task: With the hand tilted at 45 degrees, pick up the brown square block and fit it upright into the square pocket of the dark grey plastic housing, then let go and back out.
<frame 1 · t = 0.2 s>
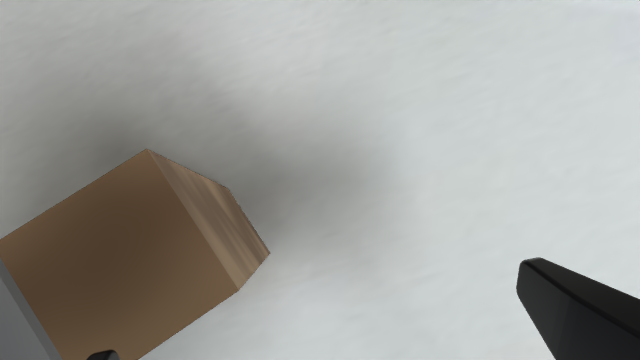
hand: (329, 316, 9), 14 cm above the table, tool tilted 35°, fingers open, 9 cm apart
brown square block: (215, 242, 23), on the table
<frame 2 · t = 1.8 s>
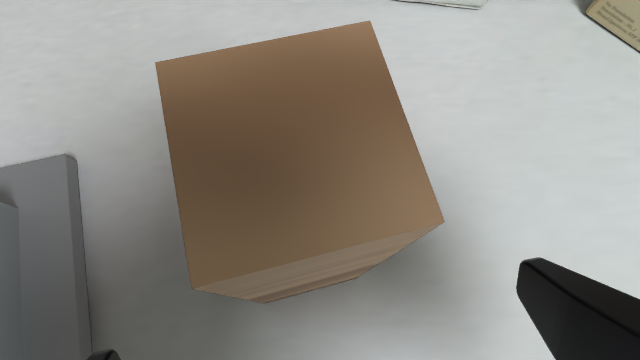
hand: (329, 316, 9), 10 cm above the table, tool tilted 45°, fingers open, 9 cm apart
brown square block: (299, 244, 19), on the table
skincare box: (639, 25, 25), on the table
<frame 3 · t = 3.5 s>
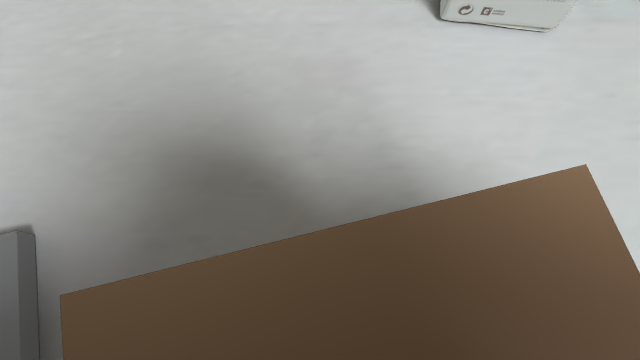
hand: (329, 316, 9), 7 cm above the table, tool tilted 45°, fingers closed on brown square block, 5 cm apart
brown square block: (327, 352, 14), on the table, touching gripper
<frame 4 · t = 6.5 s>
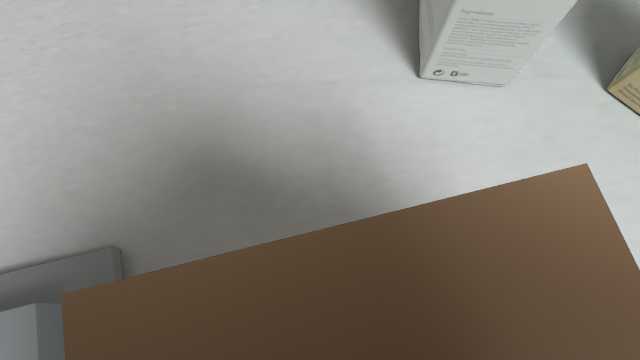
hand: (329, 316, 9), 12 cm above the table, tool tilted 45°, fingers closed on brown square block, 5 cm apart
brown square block: (327, 351, 14), point 6 cm above the table, touching gripper
skincare box 2: (457, 32, 26), on the table
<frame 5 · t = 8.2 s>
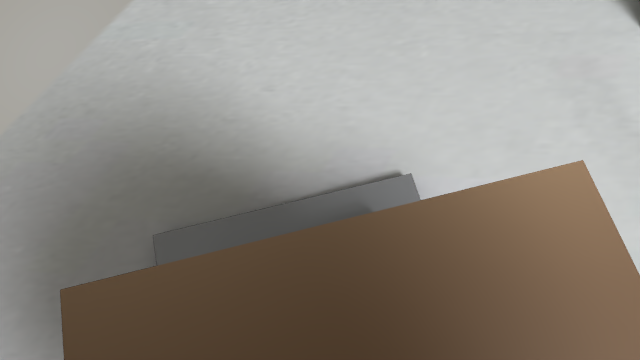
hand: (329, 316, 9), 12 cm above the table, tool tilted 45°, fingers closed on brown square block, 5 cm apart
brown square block: (327, 351, 14), point 6 cm above the table, touching gripper
housing: (319, 339, 20), on the table
when the fingers open (8 cm above the table, at t = 9.5 s): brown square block stays where it is, resting on housing.
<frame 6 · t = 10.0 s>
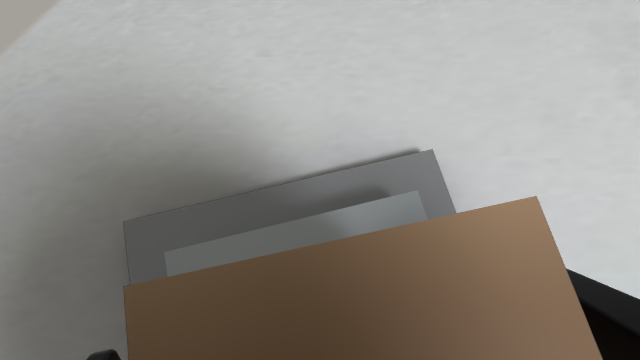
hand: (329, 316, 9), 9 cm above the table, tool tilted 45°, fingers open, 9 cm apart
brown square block: (326, 348, 15), point 1 cm above the table, touching housing
housing: (323, 346, 16), on the table
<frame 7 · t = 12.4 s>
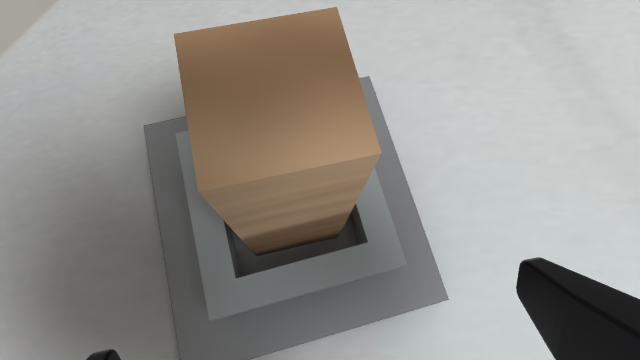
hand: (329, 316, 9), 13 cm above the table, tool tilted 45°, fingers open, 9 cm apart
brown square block: (288, 207, 22), point 1 cm above the table, touching housing
housing: (288, 212, 23), on the table
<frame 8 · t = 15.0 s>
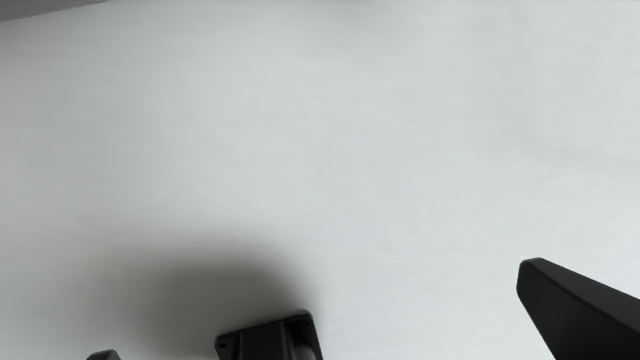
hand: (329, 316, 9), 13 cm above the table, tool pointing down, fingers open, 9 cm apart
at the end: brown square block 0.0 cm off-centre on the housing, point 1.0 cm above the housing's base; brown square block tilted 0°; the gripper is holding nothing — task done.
